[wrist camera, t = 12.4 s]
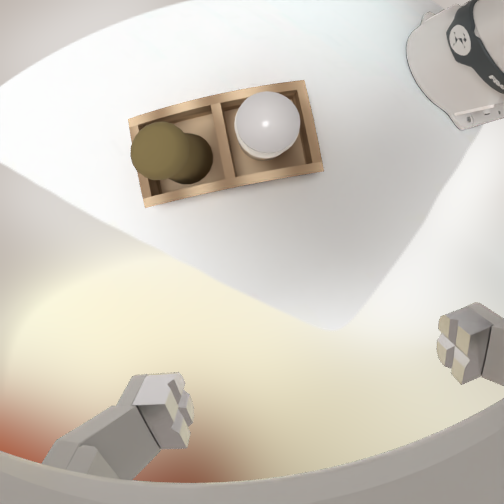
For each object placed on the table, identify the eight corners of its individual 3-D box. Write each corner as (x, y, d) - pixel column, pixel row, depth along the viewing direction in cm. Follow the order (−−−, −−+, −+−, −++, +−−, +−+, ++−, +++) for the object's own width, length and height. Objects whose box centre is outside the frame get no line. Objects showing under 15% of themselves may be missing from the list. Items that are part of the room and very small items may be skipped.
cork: (159, 139, 34) (117, 123, 23) (209, 129, 33) (183, 106, 22) (166, 188, 35) (124, 191, 24) (216, 180, 34) (192, 178, 24)
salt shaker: (281, 110, 33) (294, 84, 23) (291, 156, 34) (308, 148, 24) (233, 119, 33) (227, 96, 23) (243, 165, 34) (241, 160, 24)
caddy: (297, 92, 33) (304, 80, 28) (314, 171, 35) (323, 171, 30) (143, 125, 34) (128, 119, 29) (158, 203, 36) (145, 207, 31)
